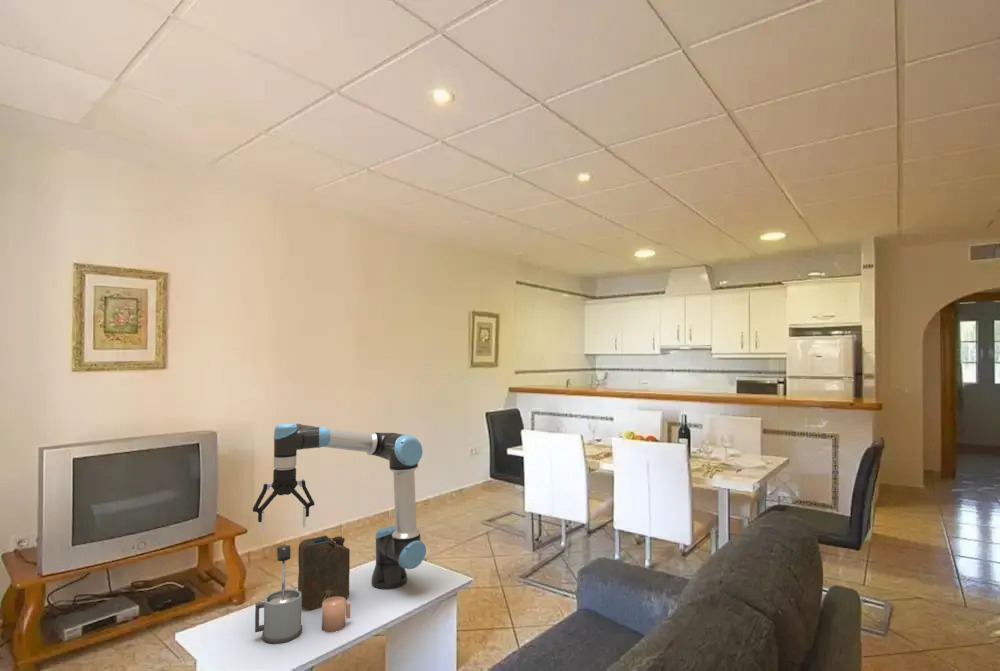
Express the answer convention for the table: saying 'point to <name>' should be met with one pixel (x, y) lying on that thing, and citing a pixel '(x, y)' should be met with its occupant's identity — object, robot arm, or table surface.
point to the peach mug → (334, 613)
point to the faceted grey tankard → (280, 619)
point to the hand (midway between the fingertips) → (283, 528)
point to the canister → (323, 570)
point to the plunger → (283, 577)
